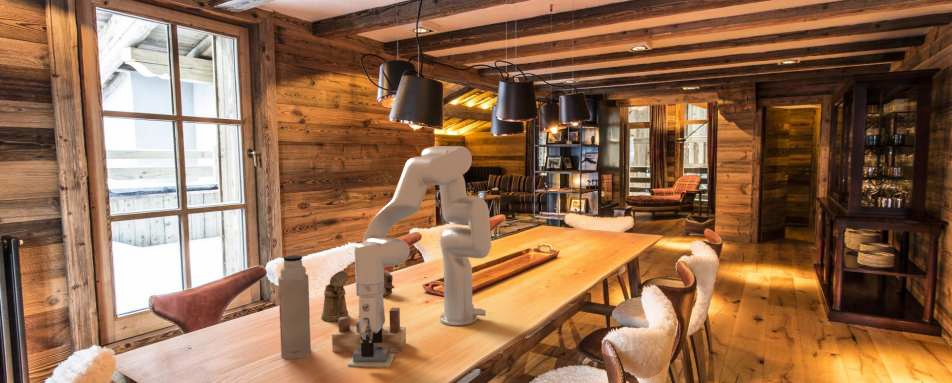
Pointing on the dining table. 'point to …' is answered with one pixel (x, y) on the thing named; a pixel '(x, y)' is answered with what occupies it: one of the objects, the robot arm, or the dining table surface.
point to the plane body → (350, 336)
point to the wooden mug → (335, 298)
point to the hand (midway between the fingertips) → (372, 349)
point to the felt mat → (372, 363)
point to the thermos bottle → (294, 309)
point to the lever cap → (379, 356)
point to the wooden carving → (387, 283)
